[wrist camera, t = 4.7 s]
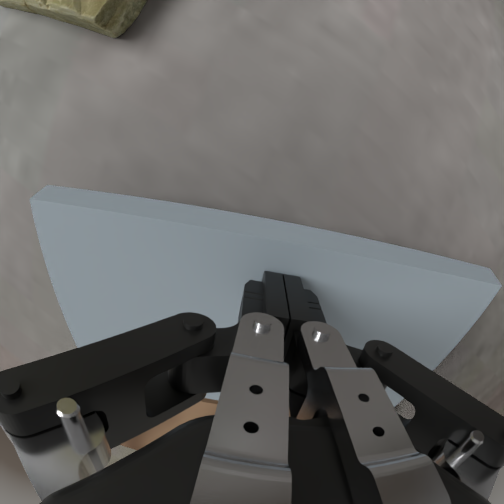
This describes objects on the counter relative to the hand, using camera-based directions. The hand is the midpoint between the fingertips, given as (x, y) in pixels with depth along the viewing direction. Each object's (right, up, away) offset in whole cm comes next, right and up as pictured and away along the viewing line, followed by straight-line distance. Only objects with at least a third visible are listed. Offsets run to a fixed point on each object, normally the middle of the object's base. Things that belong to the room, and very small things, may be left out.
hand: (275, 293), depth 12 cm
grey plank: (0, -3, +4) cm, 5 cm away
